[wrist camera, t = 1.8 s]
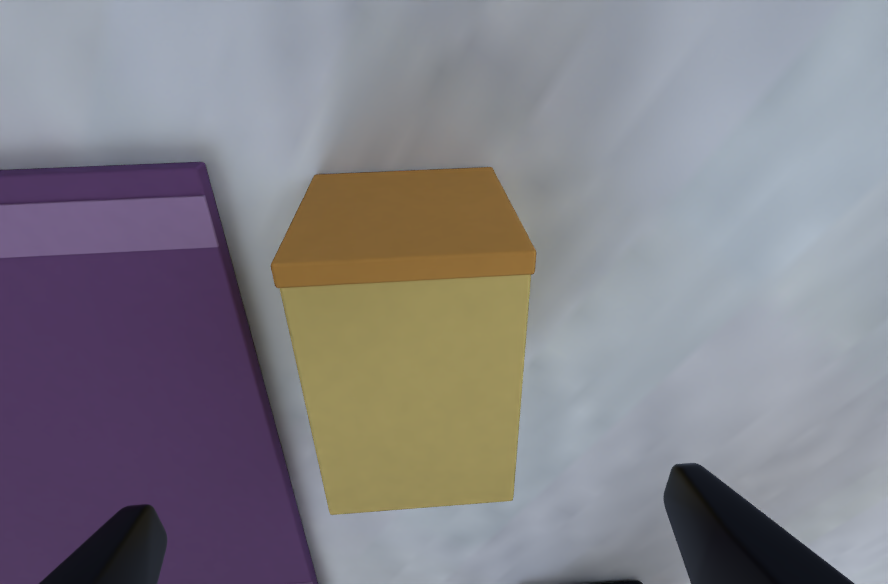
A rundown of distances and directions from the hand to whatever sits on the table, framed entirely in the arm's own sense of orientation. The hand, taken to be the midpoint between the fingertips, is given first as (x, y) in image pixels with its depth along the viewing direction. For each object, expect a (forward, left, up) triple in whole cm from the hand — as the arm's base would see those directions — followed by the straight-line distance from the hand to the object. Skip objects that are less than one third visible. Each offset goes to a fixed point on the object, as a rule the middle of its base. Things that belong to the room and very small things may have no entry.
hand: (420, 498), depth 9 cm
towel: (-6, +13, -7) cm, 16 cm away
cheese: (0, 0, -7) cm, 7 cm away
